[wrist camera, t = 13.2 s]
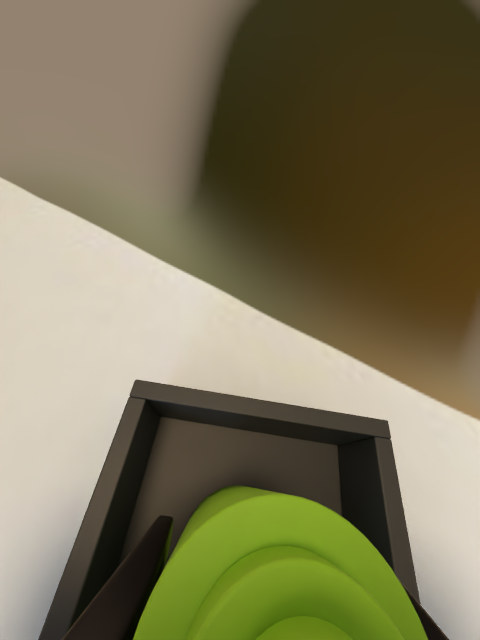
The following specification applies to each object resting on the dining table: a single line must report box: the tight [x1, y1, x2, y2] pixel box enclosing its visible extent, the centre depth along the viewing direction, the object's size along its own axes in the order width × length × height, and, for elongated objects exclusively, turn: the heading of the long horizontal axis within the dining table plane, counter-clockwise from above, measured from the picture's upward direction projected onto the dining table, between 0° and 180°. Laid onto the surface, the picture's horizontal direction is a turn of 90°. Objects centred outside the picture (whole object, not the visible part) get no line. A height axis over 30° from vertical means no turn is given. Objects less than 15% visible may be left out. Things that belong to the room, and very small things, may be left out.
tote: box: [38, 380, 420, 640], centre depth 10 cm, size 12×12×4 cm
